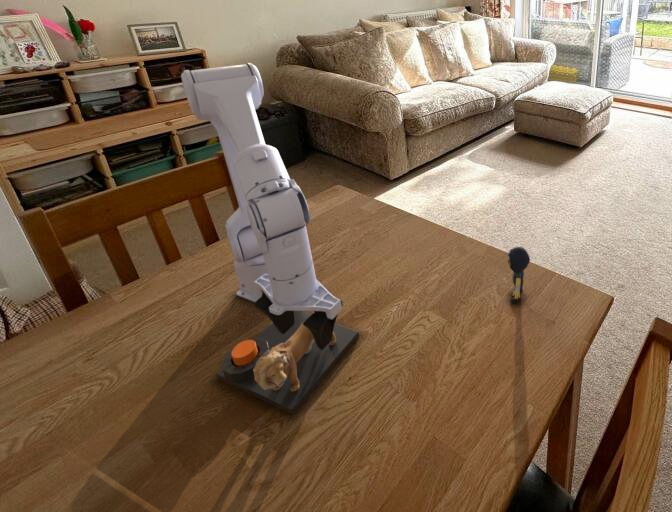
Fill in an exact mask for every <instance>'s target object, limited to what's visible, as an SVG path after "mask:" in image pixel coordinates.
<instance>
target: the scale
mask: <svg viewBox="0 0 672 512" xmlns="http://www.w3.org/2000/svg"><path fill="white" fill-rule="evenodd" d="M312 314H313V313H309V312H308V311H294V325H293V326H292V327H291V328H290V329H289V330H288V331H287V332H286V333H285V334H282V333H280V332H279V330H278V329H277V328H276V326H275V325H274V323H273V322H272V323H271V324H270V325H269V326H268V327H267V328H266V329H264V330H263V331H262V332H261V333H260V334H258V335H257V337H256V338H248V339H247V340H253V341H255V343H256V346H257V349H258V355H257V357H256V358H255V359H254V360H253V361H252V362H251V363H249V364H247V365H244V366H237V365H235V364H234V361H233V358H232V355H231V352H232V350H233V348H234V347H235V346H236V345H234V346H233V347H232V348H231V349H230V350H228V351H227V352H226V353H225V355H224V357H223V359H222V361H221V369H219V370H218V371H217V372H216V373H215V376H216V378H217V380H219V381H221V382H223V383H225V384H228V385H230V386H232V387H233V388H235V389H237V390H239V391H242V392H244V393H246V394H248V395H250V396H252V397H255V398H256V399H258V400H261V401H263V402H265V403H267V404H269V405H271V406H272V407H273V406H274V407H275V408H278V409H279V410H281V411H284V412H286V413H288V414H290V415H294V414H295V413H296V412H297V411H298V409H300V407H302V405H303V404H304V403H305V401H306V400H307V399H308V398H309V397H310V395H312V394H313V392H314V391H315V390H316V389H317V387H318V386H319V385H320V384H321V382H323V380H324V379H325V378H326V377H327V376H328V374H329V373H330V372H331V371H332V369H333V368H334V367H335V366H336V365H337V364H338V363H339V361H340V360H341V359H342V358H343V357H344V355H345V354H346V353H347V352H348V351H349V349H350V348H351V347H353V345H354V344H355V343H356V341H357V340H358V339H359V338H360V334H359V331H358V330H356V329H355V330H354V329H352V328H351V327H350V328H349V327H347V326H345V325H342V324H339V323H337V322H335V325H334V329H333V332H334V334H335V337H336V342H335V344H334V345H329V344H328V345H327V346H326V347H325V348H324V349H323V350H322V349H319V348H318V346H317V345H316V342H315V340H314V342H313V345H312V347H311V350H310V351H309V353H307V354H304V355H303V356H302V357H301V358H300V359H299V360H298V361H297V362H296V364H297V378H298V380H299V389H298V390H296V391H293V392H292V391H291V390H290V387H291V384H290V378H289V377H288V378H286V380H285V381H284V383H283V385H282V387H281V388H280V389H279V390H277V391H275V390H273V388H271V389H266V390H264V389H262V388H261V387H260V386H259V384H258V383H257V382H256V381H255V379H254V371H253V369H254V368H255V366H256V362H257V361H258V359H259V358H260V357H261V356H262V355H263V354H264V353H265V352H267V350H270V349H271V348H272V347H275V346H276V345H279V344H280V343H285V342H286V341H287V340H288V339H289V338H290V337H291V336H292V335H293V334H294V333H295V332H296V331H297V329H298V328H299V327H300V325H301V324H302V323H303V322H304V321H306V320H307V319H308V318H309V317H310V316H311V315H312Z"/></svg>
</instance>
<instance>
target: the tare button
mask: <svg viewBox="0 0 672 512" xmlns="http://www.w3.org/2000/svg"><path fill="white" fill-rule="evenodd" d="M234 346H235V347H234ZM234 346H233V347H234V348H233V347H232V348H233V350H232V352H231V355H232V358H233V361H234V364H235V365H237V366H244V365H247V364H249V363H251V362H252V361H253V360H254V359H255V358H256V357H257V355H258V349H257V346H256V343H255V341H253V340H248V339H245V340H243V341H241V342H239V343H237V344H236V345H234Z"/></svg>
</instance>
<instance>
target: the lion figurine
mask: <svg viewBox="0 0 672 512" xmlns="http://www.w3.org/2000/svg"><path fill="white" fill-rule="evenodd" d="M304 322H305V321H304ZM304 322H303V323H304ZM303 323H302V324H301V325H300V327H299V328H298V329H297V331H296V332H295V333H294V334H293V335H292V336H291V337H290V338H289V339H288V340H287V341H286V342H285V343H280V344H279V345H276V346H275V347H272V348H271V349H270V350H267V352H265V353H264V354H263V355H262V356H261V357H260V358H259V359H258V361H257V362H256V366H255V368H254V369H253V371H254V379H255V381H256V382H257V383H258V384H259V386H260V387H261V388H262V389H264V390H266V389H271V388H273V390H275V391H277V390H279V389H280V388H281V387H282V385H283V383H284V381H285V380H286V378H288V377H289V378H290V384H291V387H290V390H291V391H292V392H293V391H296V390H298V389H299V380H298V378H297V364H296V362H297V361H298V360H299V359H300V358H301V357H302V356H303V355H304V354H307V353H309V351H310V350H311V347H312V345H313V342H314V340H315V339H314V336H313V334H312V333H311V331H310V330H309V329H308V328H307V327H306V326H304V325H303ZM335 342H336V337H335V334H334V332H333V336H332V341H331V342H330V343H329V345H334V344H335Z"/></svg>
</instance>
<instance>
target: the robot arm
mask: <svg viewBox="0 0 672 512" xmlns="http://www.w3.org/2000/svg"><path fill="white" fill-rule="evenodd" d="M180 78H181V82H182V86H183V89H184V92H185V96H186V99H187V101H188V104H189V107H190V110H191V113H192V115H193V116H194V117H195V119H196V120H200V121H209V122H210V123H211V125H212V126H213V127H214V129H215V130H216V133H217V135H218V139H219V143H220V145H221V146H220V147H221V149H222V153H223V156H224V160H225V163H226V167H227V170H228V174H229V178H230V180H231V183H232V187H233V191H234V194H235V197H236V201H237V204H238V208H237V209H236V210H235V211H234V213H232V214H231V215H230V216H229V218H227V220H226V221H225V225H224V227H225V230H226V237H227V241H228V245H229V247H230V251H231V254H232V256H233V259H234V261H233V269H234V272H235V276H236V279H237V283H238V286H239V290H238V291H237V292H236V293H235V294H236V296H238V297H239V298H243V299H245V300H248V301H250V302H253V303H254V307H255V308H256V309H258V310H260V311H261V312H262V313H264V314H265V315H266V316H267V317H268V318H269V319H270V321H271V322H272V323H274V325H275V326H276V328H277V329H278V330H279V332H280V333H282V334H285V333H286V332H287V331H288V330H289V329H290V328H291V327H292V326H293V325H294V311H304V312H312V313H311V314H312V315H311V316H310V317H309V318H308V319H307V320H306V321H305V322H304V323H303V325H304V326H306V327H307V328H308V329H309V330H310V331H311V333H312V334H313V336H314V339H315V342H316V345H317V346H318V348H319V349H322V350H323V349H324V348H325V347H326V346H327V345H328V344H329V343H330V342H331V341H332V336H333V329H334V325H335V323H336V321H337V318H338V315H339V314H340V312H341V311H343V306H344V303H343V300H342V299H341V298H338V297H335V296H334V295H333V294H332V293H330V291H329V290H328V289H327V288H326V287H324V285H323V284H321V282H320V281H319V280H318V279H317V276H316V271H315V266H314V260H313V256H312V250H311V244H310V239H309V236H308V230H307V225H309V224H310V222H311V215H310V209H309V205H308V202H307V199H306V197H305V195H304V193H303V192H302V190H301V188H300V186H299V185H298V184H297V182H296V181H295V179H294V178H292V179H291V177H290V175H289V173H288V170H287V168H286V166H285V164H284V161H283V159H282V157H281V155H280V152H279V150H278V149H277V147H274V146H272V145H270V144H266V142H265V138H264V135H263V132H262V129H261V125H260V121H259V118H258V115H257V112H256V110H258V109H259V108H260V106H261V105H262V101H263V98H264V94H265V91H264V85H263V80H262V77H261V74H260V72H259V69H258V68H257V66H256V65H254V64H253V63H252V62H246V64H245V63H244V64H236V65H235V64H234V65H227V66H217V67H210V68H201V69H195V70H193V69H192V70H189V69H184V70H183V71H182V73H181V75H180ZM306 224H307V225H306Z"/></svg>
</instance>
